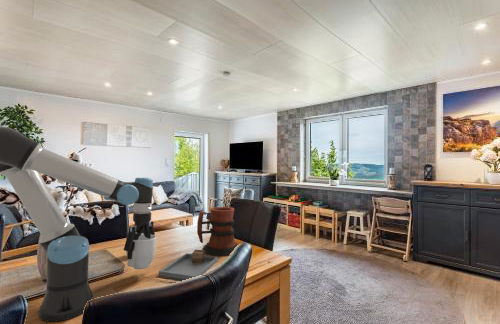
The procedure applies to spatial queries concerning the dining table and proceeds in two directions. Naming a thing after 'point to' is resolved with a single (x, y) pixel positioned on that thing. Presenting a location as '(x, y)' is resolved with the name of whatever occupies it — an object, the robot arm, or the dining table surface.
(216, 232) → the tankard
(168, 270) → the tray
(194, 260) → the walnut block
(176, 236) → the dining table surface
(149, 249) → the mug
